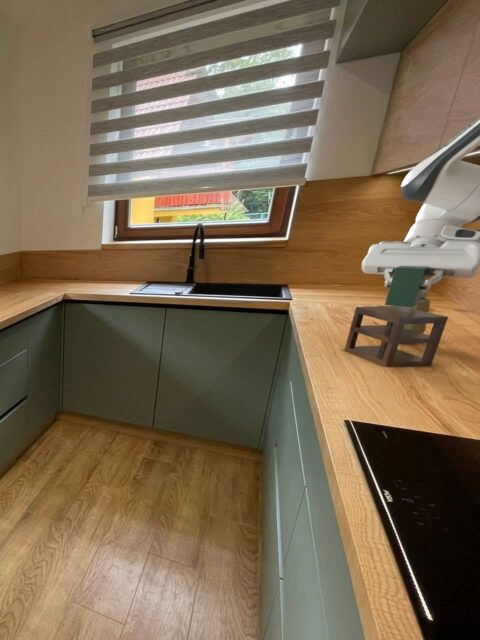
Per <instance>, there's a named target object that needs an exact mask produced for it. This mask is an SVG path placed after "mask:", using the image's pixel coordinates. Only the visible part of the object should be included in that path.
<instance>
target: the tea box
mask: <svg viewBox="0 0 480 640" xmlns="http://www.w3.org/2000/svg"><path fill="white" fill-rule="evenodd" d="M428 270H429V267H417V266H399V267H396V268H395V272H394V275H392V277H391V278H392V282H391V285H390V287H389V288H388V292H387V296H386V299H385V302H384V306H403V307H414V306H415V305H417V304H418V301H419V298H420V295H421V292H422V289H420V288H421V284H422V282H423V280H427V277H428V276H427V274H428Z"/></svg>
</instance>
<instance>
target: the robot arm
mask: <svg viewBox="0 0 480 640" xmlns="http://www.w3.org/2000/svg"><path fill="white" fill-rule="evenodd" d="M479 146H480V116H478V117H477V118H475V120H473V121H472V122H470V124H468V125H467V126H466V127H464V128H463V129H462V130H461V131H460V132H458V133H457V134H456V135H455V136H454V137H452V138H451V139H450V140H449V141H447V142H446V143H444V144H443V145H442V146H440V148H438V149H437V150H435V151H434V152H433V153H431V154H430V155H428V156H426V157H425V158H424V159H423V160H421V161H420V162H419V163H417V164H416V165H415V166H414V167H412V168H411V170H409V171H408V173H407V174H406V175H405V177H404V178H403V180H402V181H401V184H400V190H401V194H402V196H403V198H404V200H405V201H408V202H412V203H417V204H422V205H421V207H420V209H419V211H418V213H417V215H416V216H415V223H413V224H412V225H411V227H410V228H409V231H408V232H407V234H406V236H405V238H404V240H401V241H400V240H397V241H393V240H392V241H387V240H385V241H384V240H383V241H379V242H377V243H374V244H372V245H370V246H369V249H368V250H367V255H366V256H365V257H364V258H363V260H362V262H361V271H362V272H363V273H364V274H367V275H383V277H384V279H385V281H384V284H383V285H384V288H390V285H391V282H392V278H393V275H394V272H395V268H396V267H399V266H417V267H429V270H428V274H427V277H429V278H428V279H426V280H423V282H422V284H421V288H420V289H422V290H426V291H429V290H430V289H431V286H432V285H434V284H436V283H438V282H439V281H441V280H442V278H459V279H471V278H473V277H475V276H476V275H477V274H478V272H479V269H480V230H474V229H470V228H469V229H468V228H464V227H463V226H464V225H466V224H467V225H469V224H472V223H475V222H477V221H478V222H479V221H480V165H479V164H475V163H472V162H469V161H464V160H463V158H465V157H466V156H467V155H468V154H470V153H471V152H472V151H474V150H476V149H477V148H478V147H479Z"/></svg>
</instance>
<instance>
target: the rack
mask: <svg viewBox="0 0 480 640" xmlns="http://www.w3.org/2000/svg"><path fill="white" fill-rule="evenodd" d="M364 316H366V317H369V318H374V319H378V320H381V321H385V322H386V324H387V325H386V324H378V325H377V324H375V325H374V324H373V325H362V322H363V320H364V319H363V318H364ZM448 319H449V316H447V315H442V314H437V313H432V312H429V311H428V312H424V311H419V310H415V309H410V308H406V307H401V306H391V305H381V306H380V305H378V306H356V307H355V309H354V314H353V318H352V321H351V324H350V328H349V331H348V336H347V339H346V343H345V347H344V351H345V352H347V353H350V354H353V355H354V356H358V357H360V358H363V359H365V360H368V361H370V362H373V363H375V364H377V365H381V366H383V367H384V368H385V367H389V368H390V367H431V366H432V364H433V361H434V359H435V356H436V353H437V350H438V347H439V344H440V342H441V339H442V336H443V333H444V331H445V328H446V325H447V322H448ZM405 324H426V325H428V324H429V325H431V324H432V328H431V329H430V332H429V334H427V333H419V332H416V331H412V330H409V329H405V328H404V326H405ZM360 334H361V335H363V336H366V337H370V338H373V339H375V340H378V341H381V342H380V345H356V343H357V340H358V336H359V335H360ZM410 344H411V345H412V344H413V345H414V344H416V345H418V344H426V345H425V348H424V350H423V354H422V357H420V356H418V355H415V354H412V353H409V352H406V351H402V350H399V349H398V347H399V345H410Z"/></svg>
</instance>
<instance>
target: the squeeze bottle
mask: <svg viewBox="0 0 480 640" xmlns="http://www.w3.org/2000/svg"><path fill="white" fill-rule="evenodd" d="M428 295H429V290H422V292H421V295H420V298H419V301H418V304H417V305H415V306H414V307H406V308H410V309H415V310H419V311H424V312H428V313H429V310H430V306H431V301H430V299H428ZM401 307H403V306H401ZM385 325H387V323H386V324H385ZM404 328H405V329H409V330H412V331H416V332H419V333H423V334H425V331H426V328H427V324H405V326H404Z"/></svg>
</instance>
